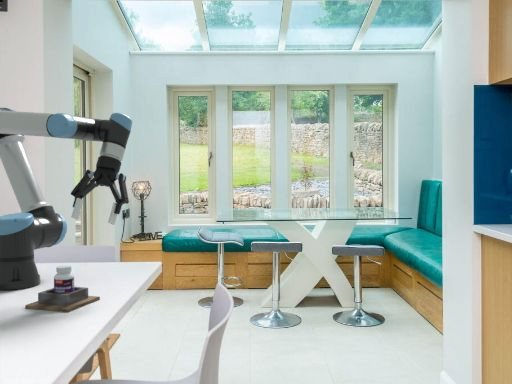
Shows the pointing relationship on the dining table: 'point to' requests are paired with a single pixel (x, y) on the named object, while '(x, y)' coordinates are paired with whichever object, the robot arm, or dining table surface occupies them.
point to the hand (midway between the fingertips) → (92, 221)
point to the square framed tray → (62, 300)
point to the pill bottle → (63, 280)
